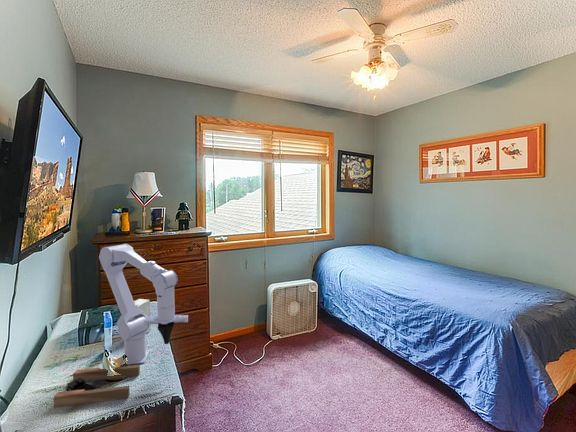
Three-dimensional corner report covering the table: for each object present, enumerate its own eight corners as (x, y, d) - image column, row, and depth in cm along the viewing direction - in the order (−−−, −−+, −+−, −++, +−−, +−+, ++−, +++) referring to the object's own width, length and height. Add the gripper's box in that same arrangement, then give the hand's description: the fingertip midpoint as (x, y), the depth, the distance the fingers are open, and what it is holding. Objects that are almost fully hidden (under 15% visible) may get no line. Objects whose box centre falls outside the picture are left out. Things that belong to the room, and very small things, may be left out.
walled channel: (75, 379, 103) (75, 370, 103) (139, 372, 107) (139, 363, 107) (53, 407, 90) (53, 396, 90) (128, 398, 94) (127, 387, 94)
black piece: (61, 412, 89) (60, 396, 89) (47, 404, 92) (46, 389, 92) (103, 387, 100) (102, 373, 100) (89, 381, 103) (88, 368, 103)
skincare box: (140, 329, 142) (139, 298, 141) (151, 331, 140) (150, 299, 139) (126, 337, 134) (125, 304, 133) (138, 339, 132) (137, 305, 131)
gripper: (141, 311, 103) (142, 350, 104) (186, 308, 106) (187, 346, 107) (146, 304, 110) (147, 340, 111) (188, 301, 113) (189, 337, 114)
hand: (167, 342), depth 110 cm, fingers closed
